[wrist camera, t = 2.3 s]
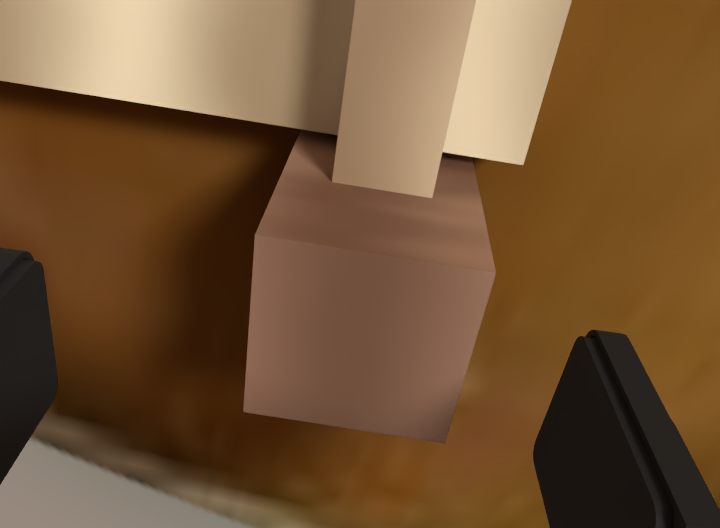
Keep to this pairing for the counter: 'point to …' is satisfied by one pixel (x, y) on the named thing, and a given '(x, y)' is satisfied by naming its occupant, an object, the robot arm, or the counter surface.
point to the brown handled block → (375, 242)
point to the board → (275, 61)
